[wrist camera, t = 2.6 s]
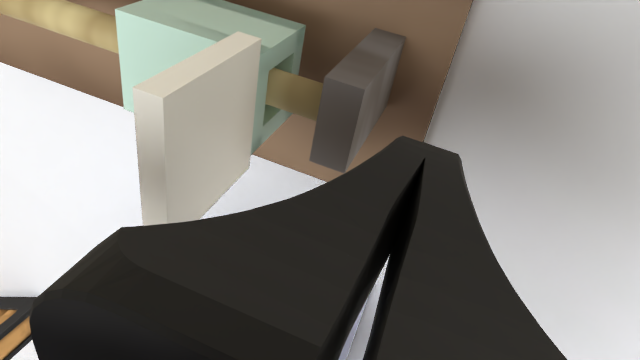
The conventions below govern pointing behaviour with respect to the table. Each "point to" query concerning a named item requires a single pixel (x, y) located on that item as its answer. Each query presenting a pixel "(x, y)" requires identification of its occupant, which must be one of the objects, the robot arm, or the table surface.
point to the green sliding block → (199, 96)
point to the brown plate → (283, 87)
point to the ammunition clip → (14, 325)
